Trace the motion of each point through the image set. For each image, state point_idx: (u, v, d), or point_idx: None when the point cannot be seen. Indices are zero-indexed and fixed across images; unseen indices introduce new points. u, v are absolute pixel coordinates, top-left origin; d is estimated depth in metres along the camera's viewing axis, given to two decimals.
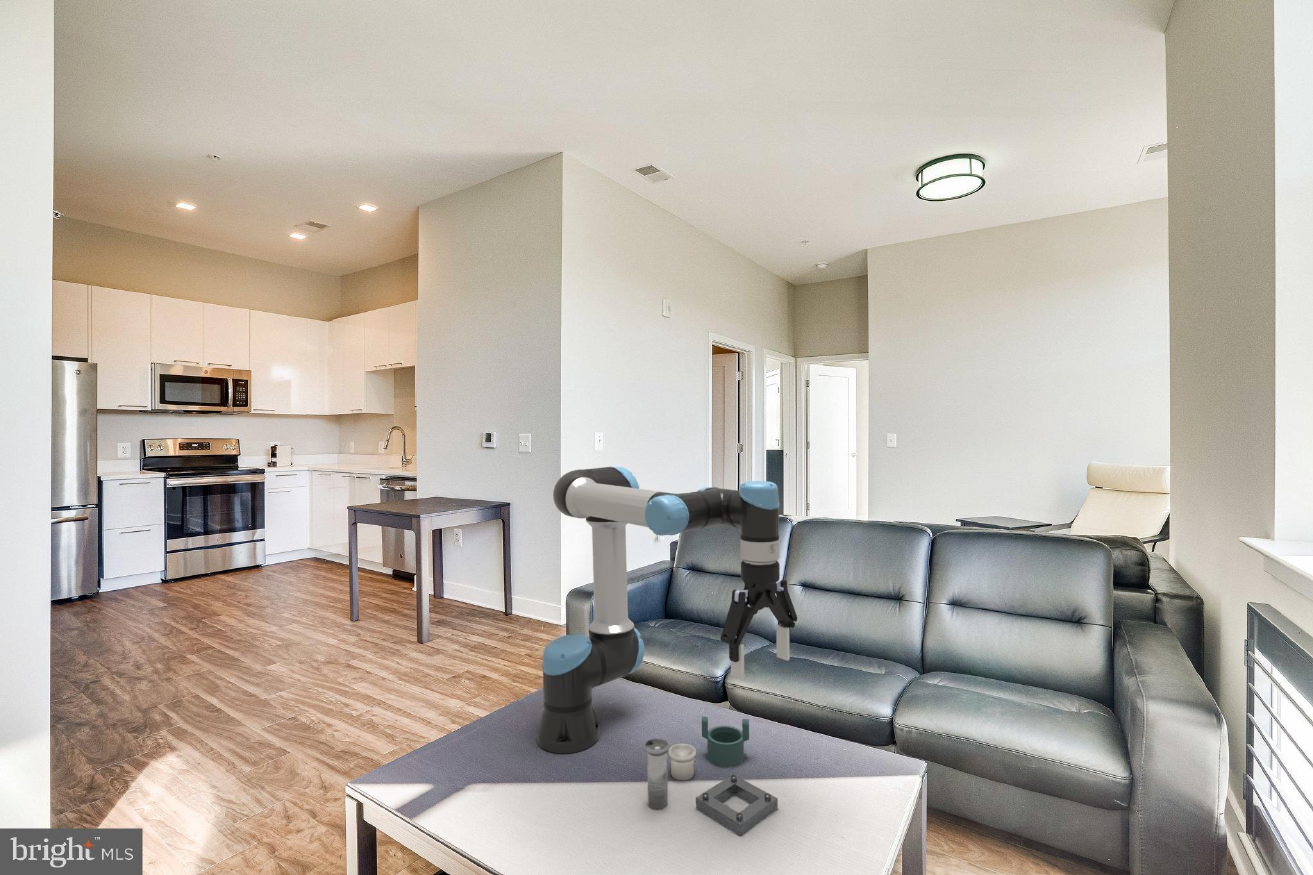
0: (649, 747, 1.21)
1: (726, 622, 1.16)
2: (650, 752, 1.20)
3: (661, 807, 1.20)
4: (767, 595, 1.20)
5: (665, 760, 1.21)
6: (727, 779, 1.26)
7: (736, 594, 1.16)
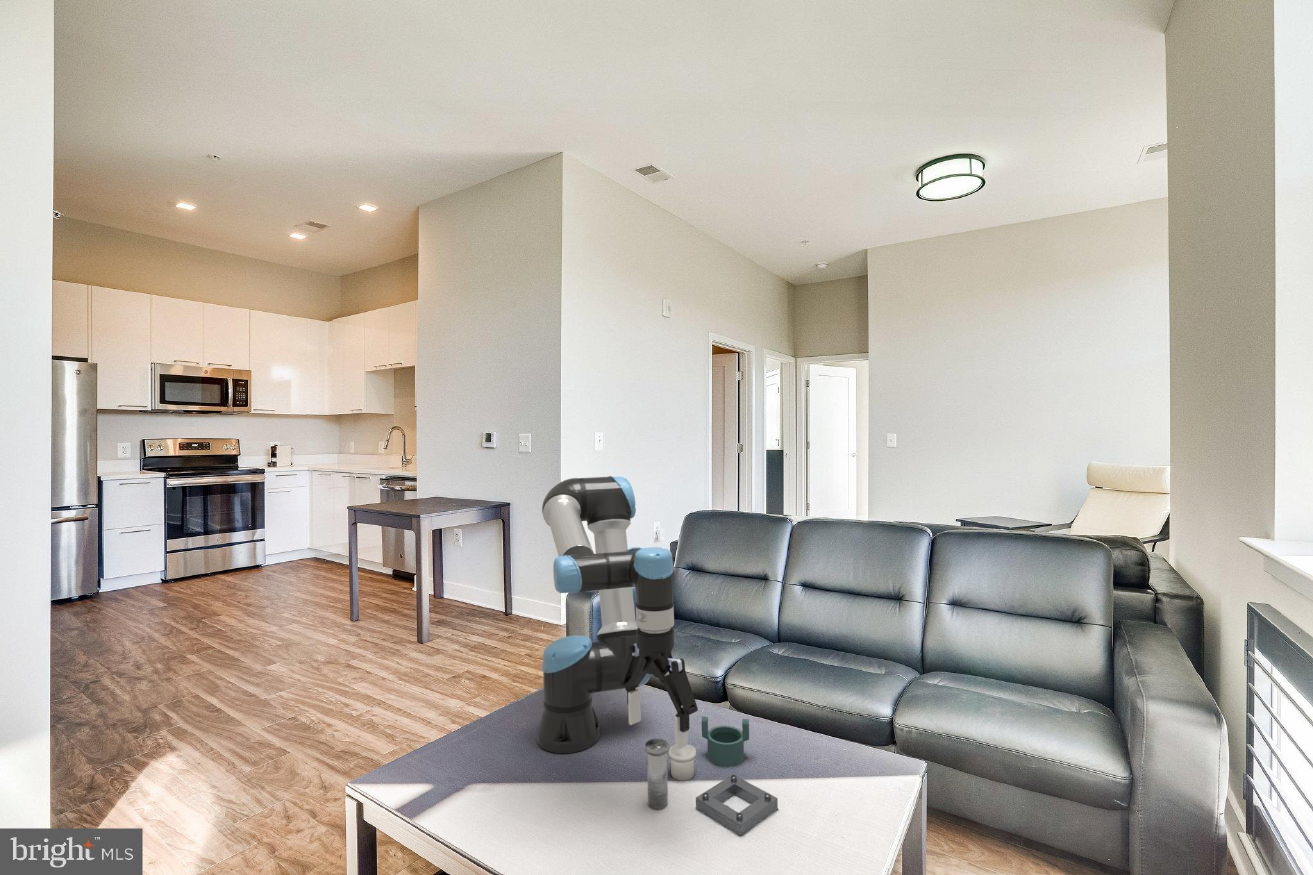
0: (649, 747, 1.21)
1: None
2: (650, 752, 1.20)
3: (661, 807, 1.20)
4: None
5: (665, 760, 1.21)
6: (727, 779, 1.26)
7: None
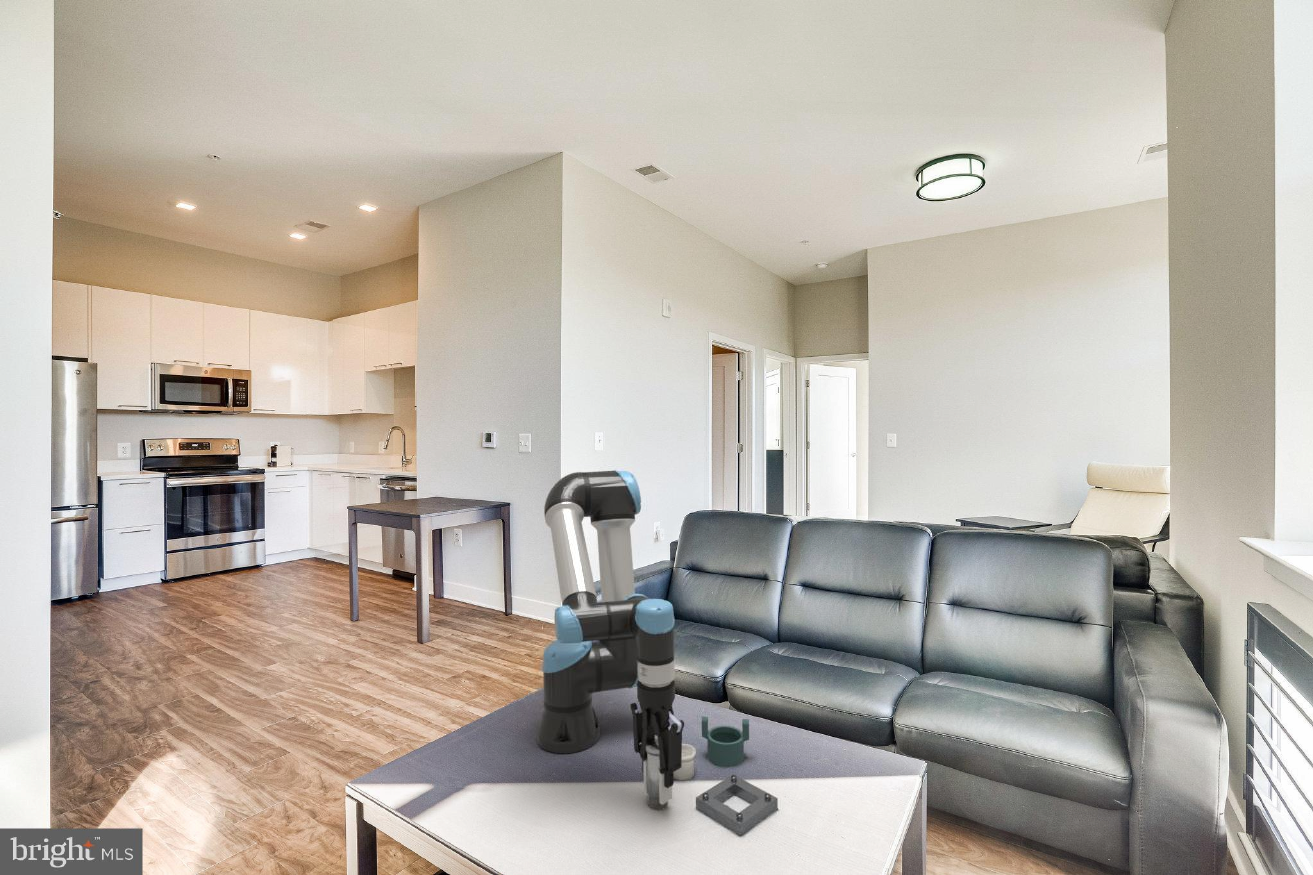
0: (649, 747, 1.21)
1: None
2: (650, 752, 1.20)
3: (661, 807, 1.20)
4: None
5: None
6: (727, 779, 1.26)
7: None
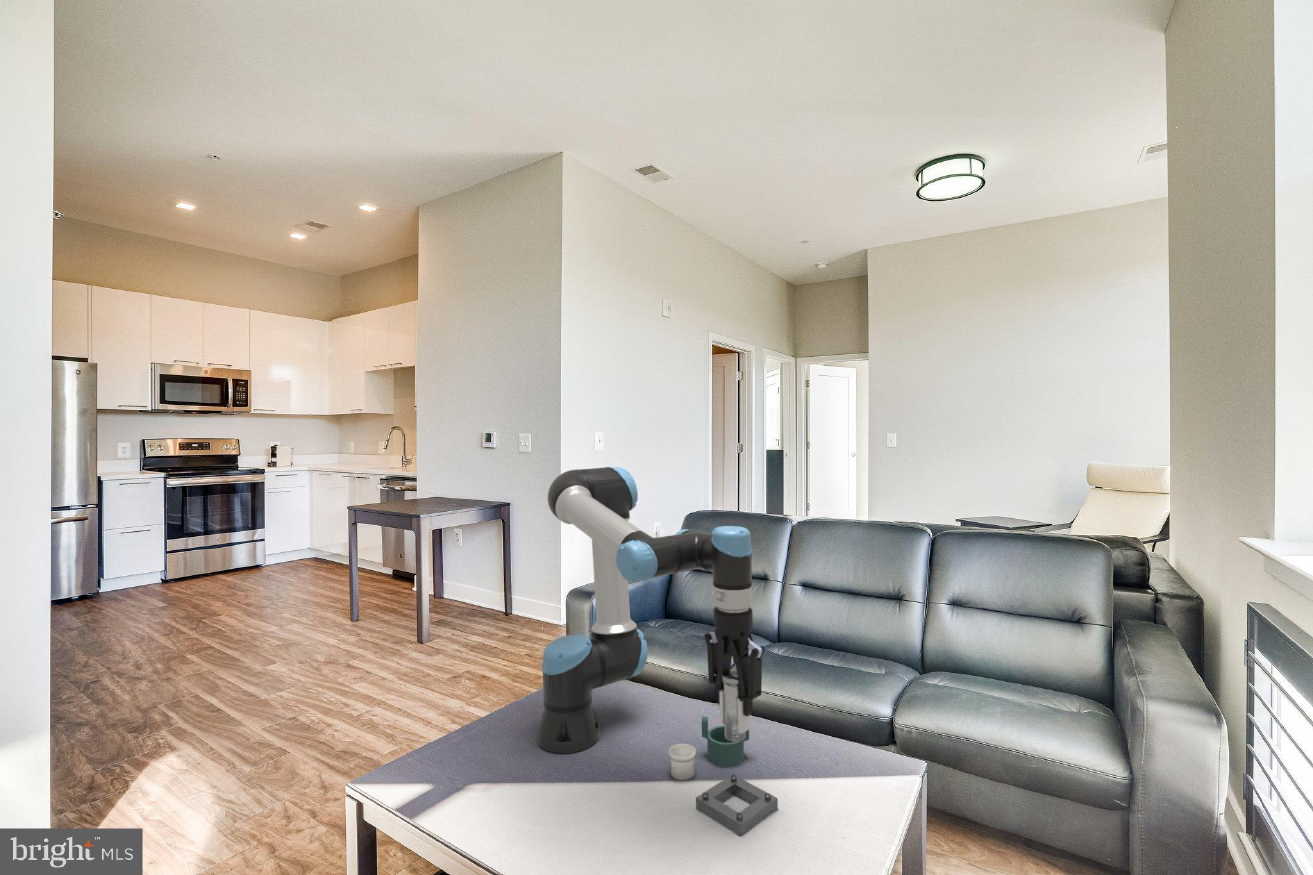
0: (726, 677, 1.18)
1: None
2: (728, 682, 1.17)
3: (739, 739, 1.18)
4: None
5: None
6: (727, 779, 1.26)
7: None
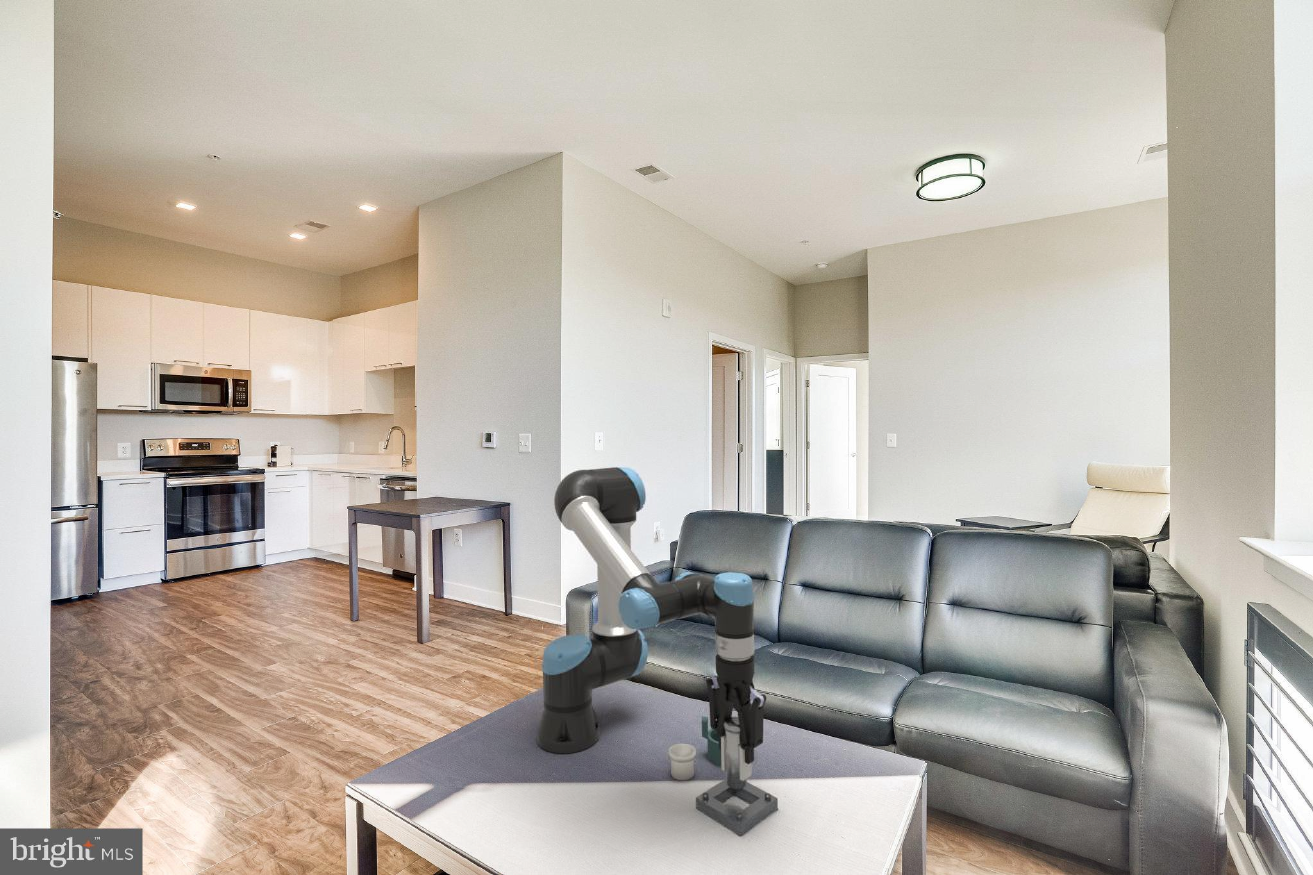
0: (728, 724, 1.19)
1: None
2: (730, 730, 1.18)
3: (741, 786, 1.18)
4: None
5: None
6: None
7: None
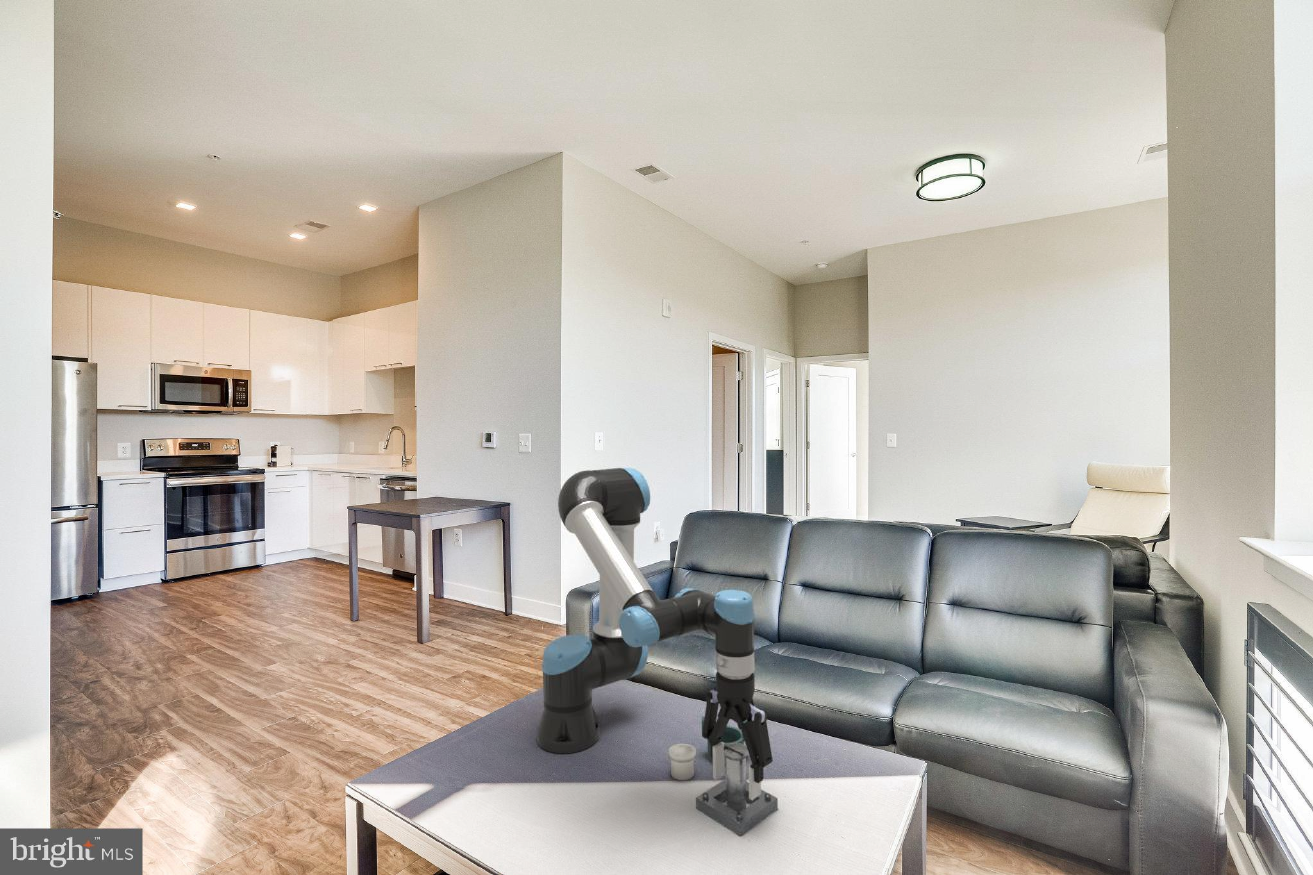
0: (728, 751, 1.19)
1: None
2: (730, 756, 1.18)
3: None
4: None
5: (744, 765, 1.19)
6: None
7: None
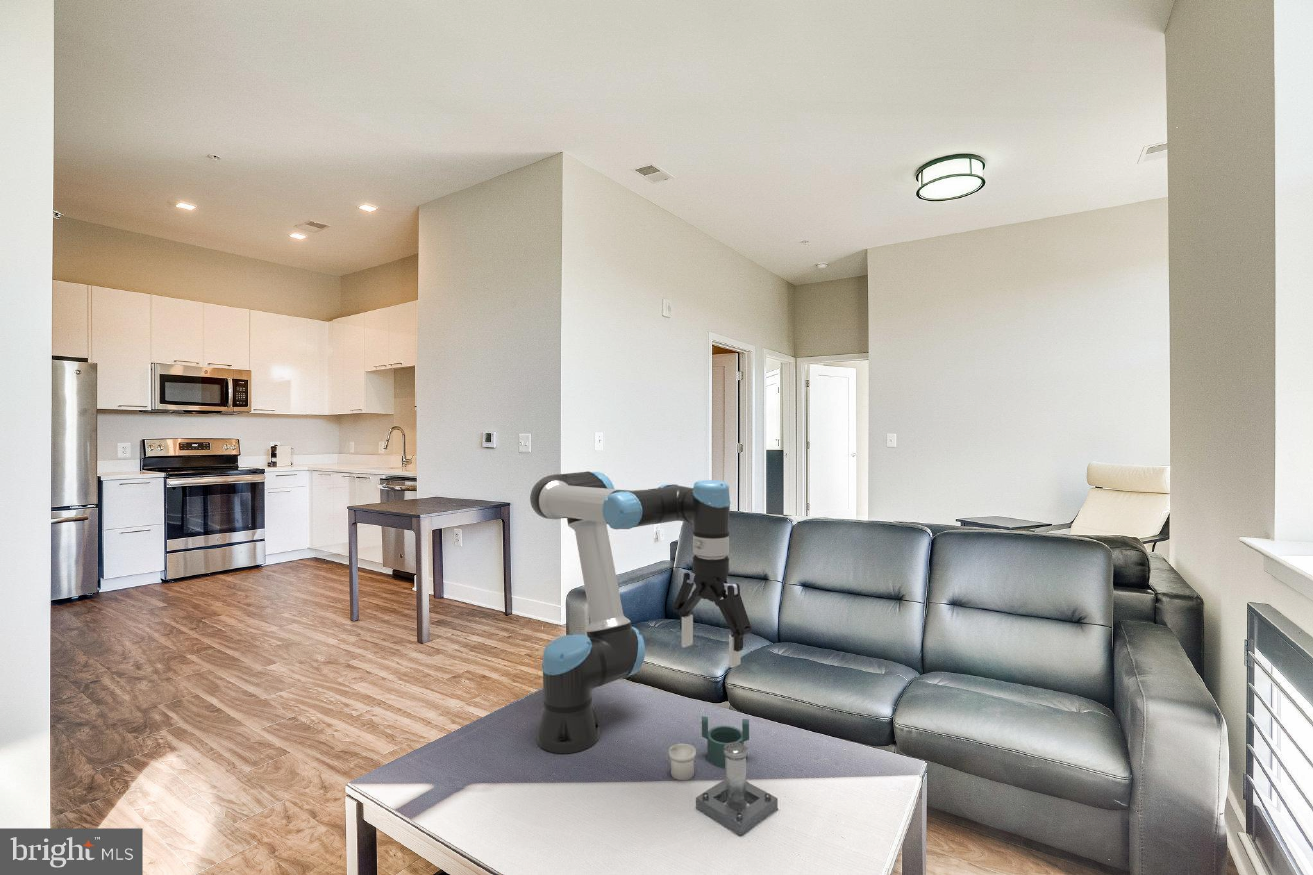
0: (728, 751, 1.19)
1: None
2: (730, 756, 1.18)
3: None
4: None
5: (744, 765, 1.19)
6: None
7: None
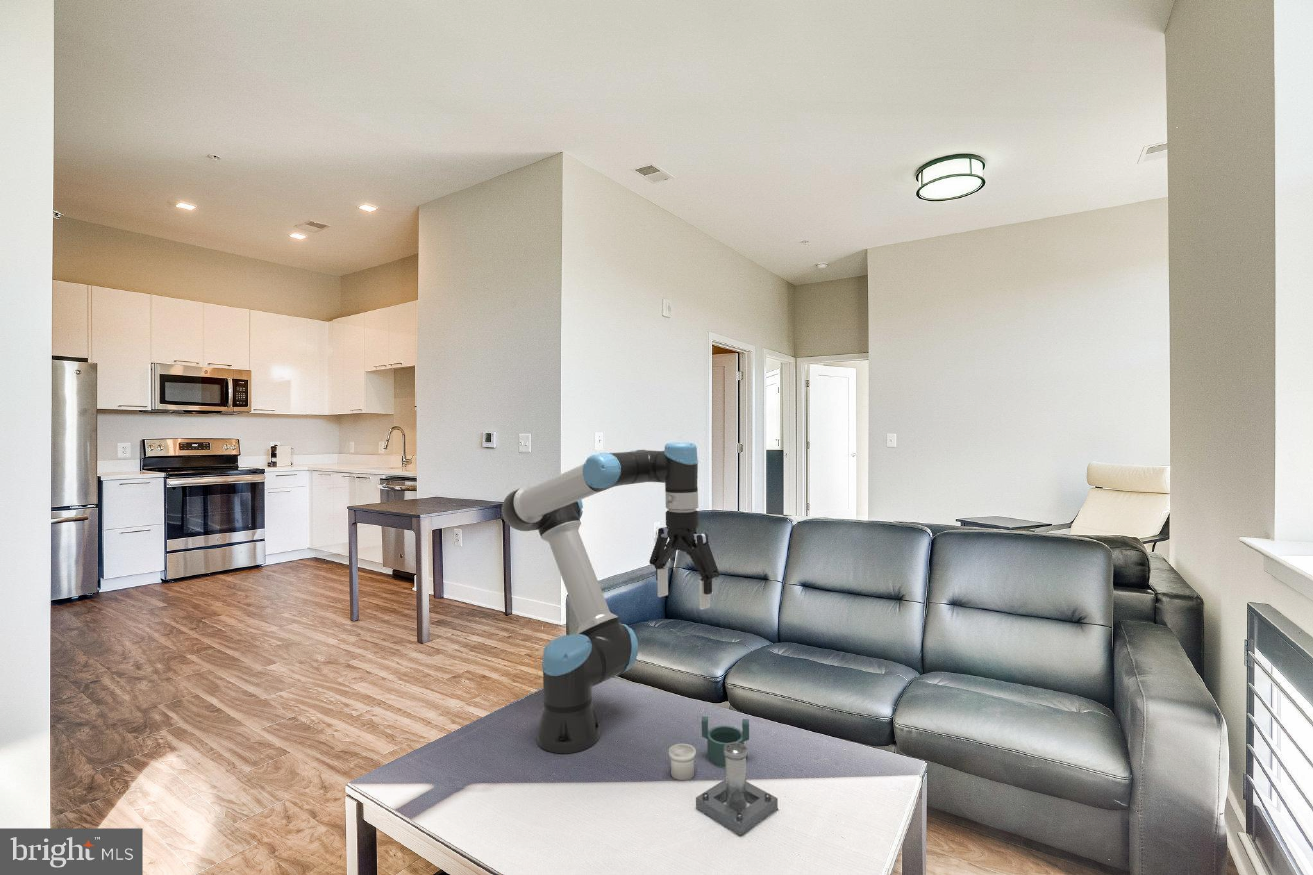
0: (728, 751, 1.19)
1: None
2: (730, 756, 1.18)
3: None
4: None
5: (744, 764, 1.19)
6: None
7: None
